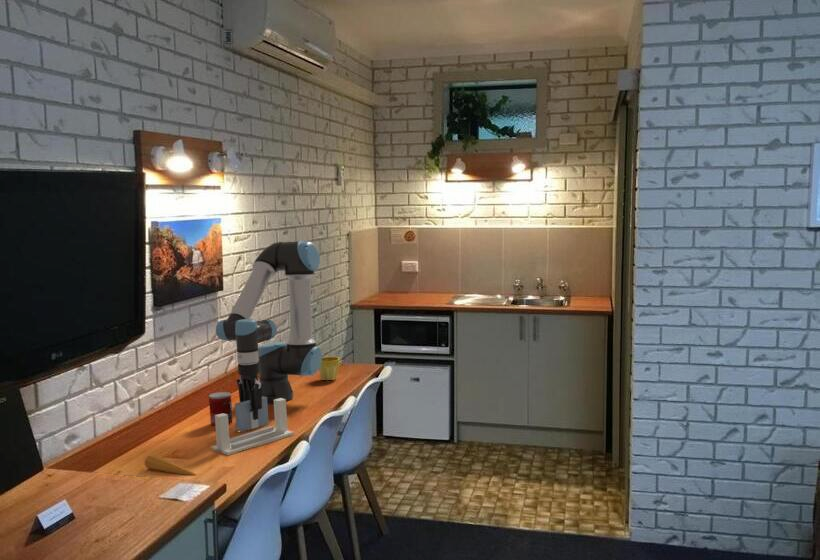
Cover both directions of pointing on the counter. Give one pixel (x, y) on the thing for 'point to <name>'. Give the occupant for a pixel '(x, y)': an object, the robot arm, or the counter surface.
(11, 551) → the counter surface
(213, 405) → the canned food
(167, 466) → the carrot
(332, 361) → the plant pot
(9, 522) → the counter surface
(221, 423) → the panel stand
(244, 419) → the door panel
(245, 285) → the robot arm
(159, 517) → the counter surface
